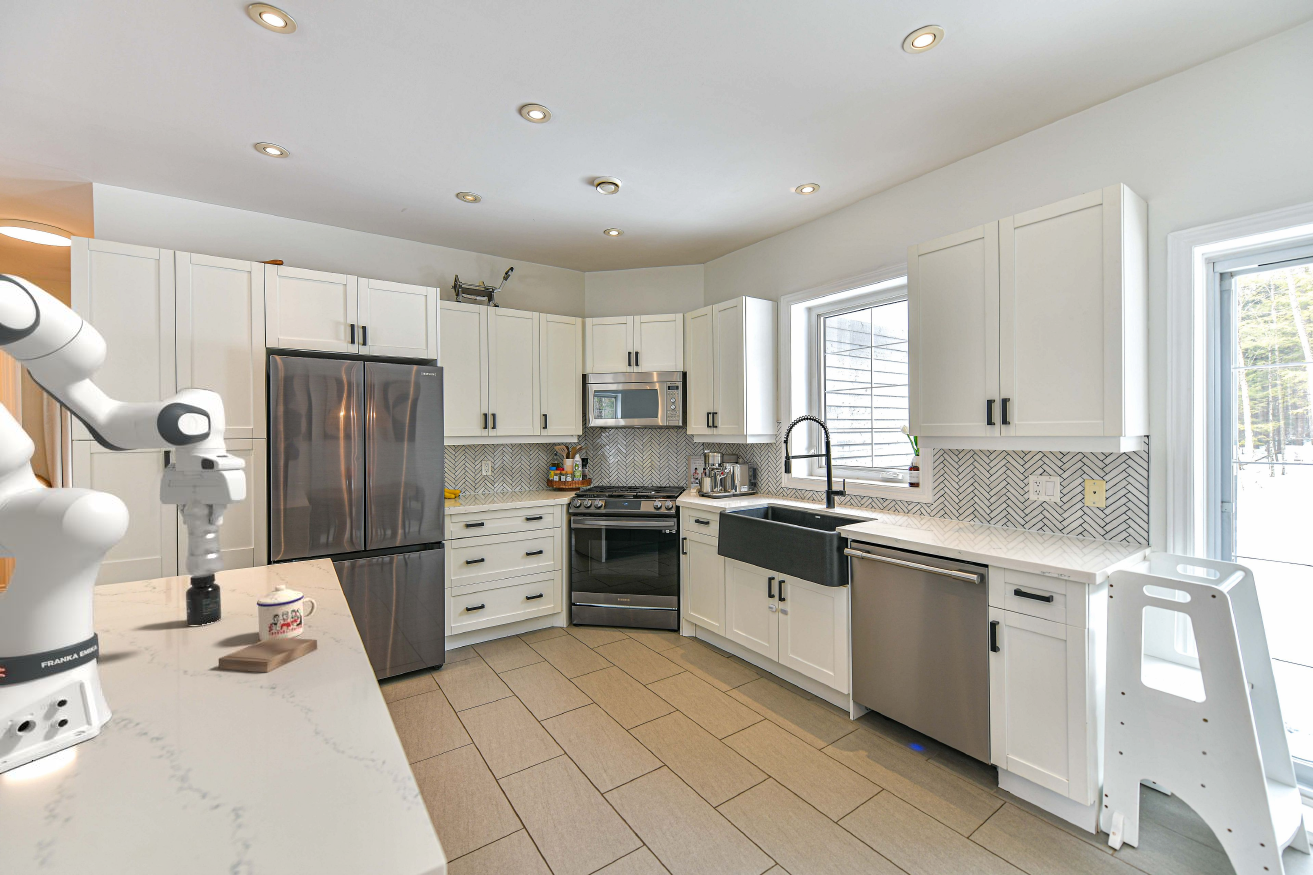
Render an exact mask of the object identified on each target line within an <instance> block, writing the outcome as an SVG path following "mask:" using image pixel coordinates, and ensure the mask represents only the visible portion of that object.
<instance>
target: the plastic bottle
mask: <svg viewBox="0 0 1313 875" xmlns="http://www.w3.org/2000/svg"><path fill="white" fill-rule="evenodd" d="M191 494H197V492H196V486H192V492H191ZM214 511H215V509H213V504H202V503H201V502H200V501H198V500H197V499H196V498H192V499H191V500H190V501H189V502H188V503H187V504H186V506H185V508H184V515H185V521H186V525H185V526H186V530H187V535H188V536H187V540H188V543H187V556H186V560H185V561H186V562H185V568H186V569H185V570H186V572H187V574H188V575H189V576H191V577H192V576H207V575H210V574H213V573H214V574H216V573H218V572H221V570H222V569H223V566H224V561H225V560H224V556H223V553H222V549H221V542H220V532H219V531H220V524H219V525H211V524H210V517H213V514H214Z"/></svg>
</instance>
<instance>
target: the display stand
mask: <svg viewBox="0 0 1313 875" xmlns="http://www.w3.org/2000/svg"><path fill="white" fill-rule="evenodd" d="M316 650H318V639H312V638H311V639H310V638H296V637H293V638H281V637H270V638H268V639H265V640H263V641H261V640H260V641H258V642H257V643H254V644H253V643H252V644H251V645H249V646H246V647H244V648H240V649H239V650H236V651H234V652H231V653H229V654H225V655H223V656H222V657H219V658H218V669H221V670H222V669H223V670H232V671H245V670H246V671H247V670H248V672H257V671H260V672H259V673H269V672H271V670H272V671H274V670H276V669H278V668H279V667H283V666H284V665H287V664H288V663H290V662H293V661H294V660H297V659H299V658H301V657H303V656H305V655H308V654H309V653H311V652H315V651H316Z"/></svg>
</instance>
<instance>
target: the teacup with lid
mask: <svg viewBox="0 0 1313 875" xmlns="http://www.w3.org/2000/svg"><path fill="white" fill-rule="evenodd" d="M307 602H310V603H311V609H310V610H309V613H308V614H306V615H304V606H303V605H304V604H303V603H307ZM256 605H257V606H258V608H257V610H258V611H257V613H258V631H259V632H258V635H259V640H260V641H263V640H265V639H268V638H270V637H281V638H296V637H298V636H300V635H301V634H303V632H304V629H305V628H304V621H305V620H308V619H310V618H311V617H313V616H314V613H315V611H316V609H317V602H316V601H315V600H314V598H313V599H312V598H309V597H305V598H304V594H303V592H301V591H296V590H295V591H294V590H292V589H289V588H286V585H285V584H281V585H276V586H275V587H274V590H272V591H271V592H269V593H267V595H264V596H261V597H260V598H258V600H257V601H256Z"/></svg>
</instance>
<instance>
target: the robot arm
mask: <svg viewBox="0 0 1313 875" xmlns="http://www.w3.org/2000/svg"><path fill="white" fill-rule="evenodd" d="M107 349H108V348H107V343H106V341H105V339H104V337H103V336H102V335H101V334H100V333H99V331H98V330H97V329H95V328H94V326H93V325H91V324H90V323H89V322H87V321H86V320H85V319H84V318H83V317H82V316H80V315H79V314H78V313H76V312H75V311H74V310H73V309H72V308H70V307H68V305H66V304H65V303H63V302H62V301H60V300H59V299H58V298H56V297H55V296H53V295H52V294H50V293H49V292H47V291H45V290H44V289H43V288H40V286H37V285H36V284H33V283H32V282H31V281H28V280H27V279H25V278H22V277H20V276H16V275H13V274H8V273H0V350H1V351H3V352H4V353H6V354H7V355H8V356H10V357H12V358H13V359H14V360H15V361H17V362H18V363H20V365H22V366H24V367H25V368H26V372H27V374H28V376H29V377H30V379H31V380H32V381H33V382H34V384H36V386H37V387H38V388H40V389H41V390H42V391H43V392H44V393H46V395H48V396H49V397H51V398H52V399H53V400H54V401H55V402H56V403H58V404H59V405H60V406H61V407H62V408H64V409H65V410H66V411H67V412H69V413H70V414H71V415H72V416H74V418H76V419H77V420H78V421H79V422H81V424H82V425H83V426H84V427H85V428H86V430H87V432H88V433H89V434H90V435H91V437H92V438H93V439H94V441H95V442H96V443H97V444H99V445H100V446H101V447H102V448H104V449H106V450H109V451H112V452H113V451H114V452H126V451H132V450H145V449H146V450H148V449H149V450H150V449H151V450H152V449H169V448H171V449H173V448H174V457H175V458H174V459H175V460H174V462H171V463H169V464H168V465H167V466H166V467H165V468H164V470H163V473H162V475H161V479H160V487H159V501H160V503H161V504H162V505H177V510H178V512H179V513H180V515H181V517H182V525H185V526H187V525H186V521H185V515H184V508H185V506H186V504H187V503H188V502H189V501H190V500H191V499H192V498H196V499H197V500H198V501H200V502H201V503H202V504H213V509H215V511H214V514H213V517H210V524H211V525H219V526H220V525H222V524H223V523H224V515H225V513H226V512H227V510H228V505H234V504H235V505H236V504H241V503H243V502H244V501H245V499H246V497H247V481H246V480H247V478H246V474H245V472H244V471H243V469H245V467H246V461H245V460H244V459H243V458H241V457H237V456H235V455H233V454H230V453H229V452H228V453H227V445H226V443H225V439H224V438H225V432H226V415H225V414H226V413H225V407H224V402H223V400H222V397H221V395H220V394H219V393H218V392H216V391H214V390H210V389H207V388H199V387H184V388H183V387H182V388H180V389H178V390H177V392H176V394H174V395H173V396H171V397H168V398H165V399H163V400H160V401H147V402H146V401H145V402H143V401H142V402H130V401H129V402H127V401H121V400H120V401H119V400H116V399H112V398H110V397H109V396H108V395H107V394H105V393H104V392H103V391H102V390H101V389H100V388H99V387H98V386H97V385H95V384H94V383H93V381H91V380H90V379H89V378H90V377H92V376H93V375H94V374H95V373H97V371H99V369H100V368H101V367H102V365H103V364H104V362H105V360H106V358H107V353H108V352H107V351H108V350H107ZM35 446H36V445H35V443H34V441H33V439H32V438H31V436H29V435H28V433H27V432H26V431H25V429H23V427H22V426H21V425H20V424H19V422H18V421H17V420H16V419H15V417H14V416H13V415H12V414H11V413H10V411H9V410H8V409H7V407H6V406H5V404H3V402H2V401H1V400H0V559H15V560H14V561H15V564H14V567H13V568H14V569H13V571H12V574H11V577H10V580H9V582H8V585H7V586H6V588H5V589H4V590H3V591H2V592H1V593H0V774H2V773H4V772H6V771H9V770H12V769H14V768H16V767H19V766H23V765H24V764H27V763H29V762H33V761H34V760H35V761H36V760H38V759H40V758H43V757H45V756H48V755H52V754H53V753H56V752H58V751H61V750H63V749H66V748H69V747H72V746H73V745H76V744H79V743H81V742H85V741H87V740H90V739H93V738H95V737H96V736H98V735H99V734H100V732H101V728H102V726H104V725H105V724H106V723H107V722H108V721H109V720H110V719H111V718H112V715H113V713H112V711H111V709H110V708H109V706H108V704H107V701H106V698H105V696H104V692H103V690H102V685H101V682H100V676H99V675H100V674H99V669H98V664H99V660H100V646H99V645H100V644H99V643H100V642H99V635H98V633H96V632H95V628H94V627H95V613H94V612H95V608H94V606H95V605H94V604H95V600H94V593H95V587H96V586H95V584H96V582H97V578H98V574H99V571H100V568H101V566H102V563H103V562H104V559H105V558H106V556H107V555H108V553H109V551H110V550H111V549H112V548H113V547H115V546H116V545H117V544H118V543H119V542H120V541H121V540H122V539H123V538H124V537H125V535H126V533H127V531H128V529H129V526H130V520H131V519H130V512H129V509H128V507H127V505H126V503H125V502H124V501H123V500H122V499H120V497H118V496H116V495H114V494H112V493H108V492H104V491H101V490H97V489H90V488H86V487H79V486H78V487H47V486H45V485H44V484H42V482H40V481H39V480H38V478H37V477H36V475H35V472H34V470H33V467H32V464H31V459H32V457H33V456H34V454H35V450H36V449H35ZM192 486H196V492H197V494H191V492H192ZM32 760H33V761H32Z"/></svg>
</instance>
